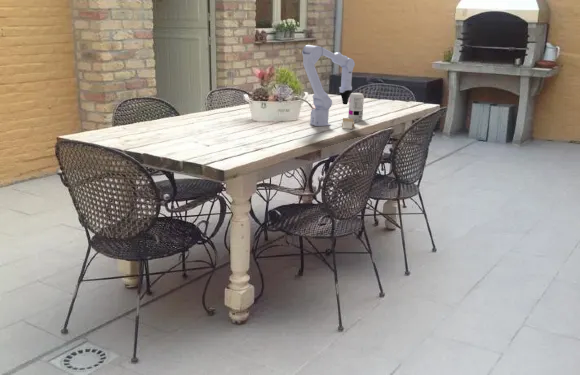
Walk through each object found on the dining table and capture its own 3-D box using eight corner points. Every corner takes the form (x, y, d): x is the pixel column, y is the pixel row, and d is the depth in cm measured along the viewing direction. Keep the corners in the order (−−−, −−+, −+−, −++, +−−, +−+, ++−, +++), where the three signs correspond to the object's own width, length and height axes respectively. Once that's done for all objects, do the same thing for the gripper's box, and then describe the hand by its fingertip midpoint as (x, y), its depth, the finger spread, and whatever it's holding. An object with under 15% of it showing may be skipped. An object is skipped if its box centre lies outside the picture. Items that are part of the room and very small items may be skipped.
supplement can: (346, 119, 362) (347, 93, 358) (351, 117, 369) (353, 92, 365) (359, 121, 359) (360, 95, 355) (364, 119, 366) (366, 93, 362)
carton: (342, 124, 345) (343, 121, 345) (354, 125, 344) (354, 122, 344) (341, 127, 339) (342, 123, 338) (353, 127, 338) (353, 124, 337)
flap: (342, 118, 336) (341, 125, 332) (353, 118, 336) (352, 125, 331) (342, 122, 338) (341, 129, 334) (353, 123, 338) (352, 130, 333)
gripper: (344, 78, 353) (343, 101, 357) (334, 80, 341) (333, 105, 345) (356, 79, 351) (354, 103, 354) (347, 81, 338) (345, 106, 342)
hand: (345, 104), depth 349 cm, fingers closed
